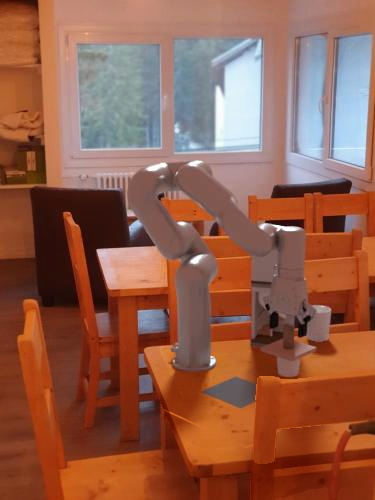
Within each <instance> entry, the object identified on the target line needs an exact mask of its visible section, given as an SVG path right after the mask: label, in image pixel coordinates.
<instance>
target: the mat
mask: <svg viewBox="0 0 375 500" xmlns="http://www.w3.org/2000/svg"><path fill="white" fill-rule="evenodd" d="M256 384H257V383H255V382H253V381H250V380H247V379H244V378H242V377H239V376H233V377H231V378H229V379H226V380H223V381H222V382H219V383H217V384H215V385H212V386H210V387H208V388H206V389H204V390H200V393H202V394H204V395H208V396H210V397H212V398H215V399H218V400H220V401H223V402H225V403H227V404H230V405H232V406H235V407H237V408H240V409H242V408H244V407H246V406H248V405H250V404H252V403H255V402H256V401H255V395H256Z"/></svg>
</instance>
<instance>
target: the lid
mask: <svg viewBox="0 0 375 500" xmlns="http://www.w3.org/2000/svg"><path fill="white" fill-rule="evenodd" d="M295 327H296V325H295V323H294V324H284V331H283V339H281V340H278V341H276V342H273V343H271V344H268V345H266V346H263V347H260V352H262V353H266V354H268V355H271V356H275V357H276V358H277V357H280V358H283V359H286V360H289V361H295V360H297V359H299V358H300V359H301V358H303V357H306V356H308V355H310V354H312V353H315V352H316V351H317V350H318V349H317V346H314V345H310V344H306V343H303V342H300V341H297V340H295V330H296V329H295Z"/></svg>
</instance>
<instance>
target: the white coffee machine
mask: <svg viewBox="0 0 375 500" xmlns="http://www.w3.org/2000/svg"><path fill="white" fill-rule="evenodd" d="M250 262H251V270H250V272H251V274H250V277H251V279H250V284H251V285H250V292H251V337H250V347H256V348H257V347H258V348H261V347H263V346H266V345H268V344H271V343H273V342H276V341H278V340H281V339H283V331H284V324H294V325H295V317H294V316H289V315H286V314H282V313H279V312H277V313H279V322H278V327H276V328H273V329H270V315H269V314H268V310H267V309H266V307H265V303H264V300H263V297H265V296H268V295H270V290H271V284H272V280H273V277H274V275H276V270H275V269H274V265H277V250H272V251H271V252H270V253H269V254H268V255H266V256H264V257H255V256H252V255H251V261H250Z"/></svg>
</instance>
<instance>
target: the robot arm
mask: <svg viewBox="0 0 375 500" xmlns="http://www.w3.org/2000/svg"><path fill="white" fill-rule="evenodd" d="M180 191H181V192H182V193H183V194H184V195H186V197H188V198H189V199H190V200H192V201H193V202H194V203H195V204H196V205H198V207H200V208H201V209H203V210H204V211H205V212H206V213H208V214H209V216H211V217H212V218H213V219H214V221H215V223H216V224H217V225H218V226H219V227H220V229H221V230H222V231H223V232H224V233H225V235H226V236H227V237H228V238H229V239H230V240H232V241H233V243H235V244H236V245H237V246H239V248H241V249H242V250H243V251H245V252H246V253H247V254H249V255H251V257H252V256H255V257H264V256H266V255H268V254H269V253H270V252H271V251H272V250H277V265H274V269H275V270H276V275H274V277H273V280H272V284H271V290H270V295H268V296H265V297H263V300H264V303H265V307H266V309H267V310H268V314H269V315H270V329H273V328H276V327H278V322H279V313H282V314H286V315H289V316H294V318H295V317H296V318H297V319H298V321H299V323H298V325H297V338H299V339H301V338H304V337H307V324H308V322H309V321H310V320H311V319H313V316H314V315H315V313H316V309H315V308H314V307H313V306H312V304H310V303H309V302H308V301H309V299H308V285H307V279H306V278H305V263H306V262H305V260H306V243H307V242H306V239H307V233H306V230H305V229H304V228H303V227H299V226H293V225H291V226H290V225H289V226H283V225H282V226H281V225H277V224H272V223H267V222H266V223H260V224H258V225H257V224H256V223H254V222H253V221H252V220H251V219H250V218H249V217H247V215H246V214H245V213H244V212H243V211H242V209H241V207H240V205H239V203H238V200H237V198H236V196H235V194H234V193H233V192H232V191H231V190H230V189H229V188H227V187H226V186H225V185H223V183H221V182H220V181H218V179H216V178H215V177H214V175H213V170H212V168H211V167H210V166H209V165H208V163H207V162H204V161H202V160H197V159H196V160H186V161H172V162H169V161H168V162H160V163H159V162H158V163H155V164H151V165H147V166H145V167H142V168H140V169H139V170H138V171H136V172H135V173H134V174H133V175H132V177H131V179H130V180H129V182H128V186H127V191H126V198H127V203H128V205H129V207H130V209H131V212H132V213H133V214H134V216H135V217H136V219H137V220H138V221H139V222H140V224H141V226H142V227H143V229H144V230H145V232H146V234H147V235H148V236H149V238H150V240H151V241H152V243H153V244H154V246H155V248H156V249H157V251H158V252H159V253H160V254H161V255H162V257H163V258H165V259H166V260H169V261H177V260H178V259H179V261H180V263H181V264H180V265H179V266H178V267H177V269H176V271H175V275H174V284H175V285H174V286H175V292H176V293H175V294H176V306H177V309H176V310H177V311H176V312H177V342H175V343H173V346H171V347H170V351H171V352H172V353H175V357H174V358H173V359H172V365H173V367H174V368H175V369H177V370H179V371H182V372H189V373H191V372H193V373H196V372H197V373H198V372H205V371H208V370H212V369H213V368H215V367H216V365H217V360H216V358H215V357H214V356H213V355H212V352H211V351H212V348H211V347H212V346H211V345H212V344H211V343H212V341H211V340H212V339H211V338H212V334H211V333H212V332H211V331H212V329H211V326H212V320H211V319H212V314H211V311H212V310H211V307H212V305H211V295H210V283H211V282H212V281H213V280H214V279H215V278H216V276H217V274H218V271H219V266H218V262H217V259H216V257H215V255H214V253H212V251H211V250H210V248H209V246H208V245H207V244H206V241H204V239H203V238H202V236H201V235H200V234H199V231H198V230H197V229H196V228H195V227H194V226H193V225H191V224H190V223H188V222H186V221H182V220H181V221H176V220H175V218H174V217H173V216H172V214H171V212H170V211H169V210H168V208H167V207H166V206H165V205H164V204H163V203H162V202H161V200H159V195H161V194H163V193H166V192H180ZM307 310H308V311H309V313H308V316H307V314H306V312H307ZM277 312H279V313H277Z"/></svg>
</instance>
